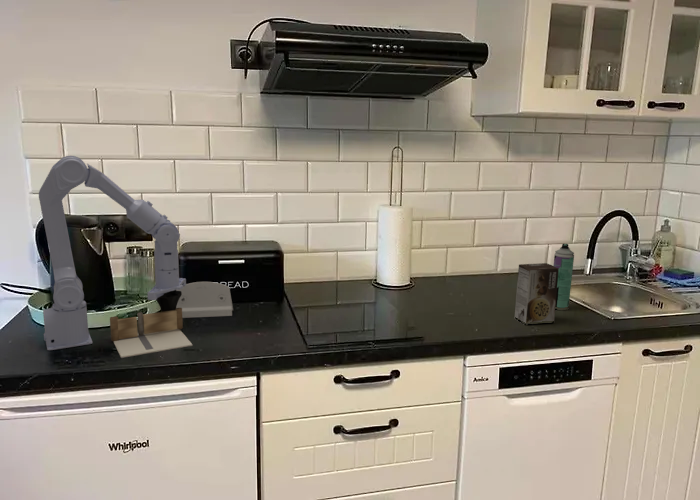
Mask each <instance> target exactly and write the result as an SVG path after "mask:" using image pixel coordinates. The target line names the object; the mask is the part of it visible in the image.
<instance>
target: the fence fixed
mask: <svg viewBox="0 0 700 500" xmlns="http://www.w3.org/2000/svg"><path fill="white" fill-rule="evenodd" d="M109 324H110V325H109V327H110V341H112V342H113V341H118V340H119V339H125V338H132V337H138V317H137V316H132V317H126V318H125V317H124V318H119V317H118V316H111V317H109Z"/></svg>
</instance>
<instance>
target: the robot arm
mask: <svg viewBox="0 0 700 500" xmlns="http://www.w3.org/2000/svg"><path fill="white" fill-rule="evenodd" d="M82 184H84V187H87V188H92V189H97V190H100V191H101V192H102V193H103V194H105V195H106V196H108V197H109V198H110V199H112V200H113V201H114V202H116V203H117V204H118V205H119V206H121V207H122V208H123V209H125V211H126V218H127V219H128V220H129V221H131V222H132V223H133V224H135V225H136V226H137V227H138V228H140V229H141V230H142V231H144V232H145V233H146V234H149V235H151V237H152V238H153V239H154V250H153V252H154V253H153V254H154V255H153V257H154V279H155V280H154V282H155V285H154V286H153V287H152V288H151V289H150V290H149V291H148V292H147V300H148V301H156V302H157V304H158V306H159V307H160V312H165V311H172V310H176V306H177V303H178V301H179V298H180V297H181V295H182V292H181V291H176V290H180V289H182V288H183V286H186V284H187V279H186V278H183V277H180V267H179V266H180V265H179V250H178V246H179V245H178V242H179V240H180V237H181V234H180V233H179V232H180V231H179V229H178V227H177V226H176V225H175V224H174V223H172V222H171V220H169V217H168V216H167V215H165V214H162V213H160V212H159V211H158V210H156V208H154V207H153V203H151V201H149V200H145V199H142V198H141V199H134V198H133V197H132V196H131V195H129V193H127V192H126V191H125V190H124V189H122V188H121V187H120V186H119V185H118V184H116V183H115V182H114V181H113V180H112V179H111V178H109V176H107V175H106V174H105V173H104V172H102V171H100V170H99V169H97V168H96V167H95V166H92V165H90V164H89V163H85V162H84V160H83V159H81V158H80V157H78V156H75V155H66V156H63V157H62V158H60V159H59V160H58V161H57V162H56V163H55V164H53V165H52V166H51V168H50V170H49V172H48V174H47V176H46V178H45V180H44V181H43V183H42V185H41V187H40V188H39V191H38V200H39V204H40V209H41V214H42V220H43V224H44V226H43V227H44V230H45V235H46V240H47V245H48V251H49V255H50V261H51V266H52V271H53V278H54V284H53V295H52V299H53V302H54V303H53V304H52V307H50V308H45V309H43V310H42V311H43V312H42V315H43V324H44V325H43V326H44V333H43V341H45V345H46V350H47V351H53V350H54V351H55V350H61V349H66V348H67V349H68V348H74V347H79V346H87V345H91V344H93V340H92V338H91V334H90V331H89V323H88V309H87V302H86V301H85V300H84V299H85V294H84V290H83V288H84V286H83V282H82V280H81V279H80V278H79V276H78V275H77V273H76V267H75V266H76V265H75V262H74V257H73V252H72V248H71V247H72V246H71V241H70V240H71V239H70V237H69V231H68V226H67V221H66V214H65V208H64V204H63V199H65V198H66V196H67V195H69V193H70V192H71V190H73V189H75V188H76V187H79V186H81V185H82Z"/></svg>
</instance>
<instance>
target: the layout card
mask: <svg viewBox="0 0 700 500" xmlns="http://www.w3.org/2000/svg"><path fill="white" fill-rule="evenodd" d="M112 342H113V344H114V346H115V348H116V350H117V352H118V354H119V357H120V358H121V359H123V358H128V357H134V356H140V355H146V354H152V353H153V354H154V353H157V352H165V351H169V350H175V349H181V348H186V347H193V344H192V342H191V340H189V338H188V337H187V336H186V335H185V334H184V332H182V329H175V330H168V331H162V332H155V333H149V334H144V335H141V336H140V335H139V333H138V337H132V338H125V339H119V340H118V341H112Z"/></svg>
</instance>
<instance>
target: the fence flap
mask: <svg viewBox="0 0 700 500" xmlns="http://www.w3.org/2000/svg"><path fill="white" fill-rule="evenodd" d="M183 319H184V318H182V308H176V310H172V311H165V312H162V311H160V312H159V311H157V312H151V313H144V314H143V312H141V311H139V312H137V331H138V333H139V335H140V336H141V335H144V334H149V333H155V332H162V331H168V330H175V329H180V330H182V329H184V326H183V325H184V324H183V322H184V321H183Z"/></svg>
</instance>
